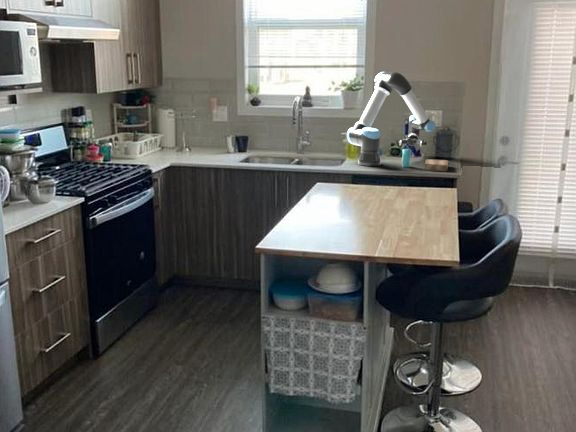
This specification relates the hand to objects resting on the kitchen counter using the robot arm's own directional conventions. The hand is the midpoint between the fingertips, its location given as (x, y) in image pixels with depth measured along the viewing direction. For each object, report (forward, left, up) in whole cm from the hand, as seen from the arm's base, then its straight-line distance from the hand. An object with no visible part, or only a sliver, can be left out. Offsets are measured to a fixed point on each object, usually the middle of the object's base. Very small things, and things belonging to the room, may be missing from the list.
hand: (410, 144), depth 420 cm
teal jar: (-1, -14, -13) cm, 19 cm away
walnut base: (+18, -14, -12) cm, 26 cm away
